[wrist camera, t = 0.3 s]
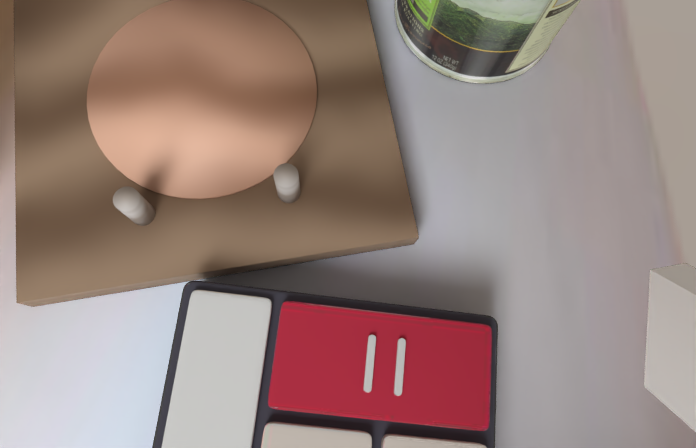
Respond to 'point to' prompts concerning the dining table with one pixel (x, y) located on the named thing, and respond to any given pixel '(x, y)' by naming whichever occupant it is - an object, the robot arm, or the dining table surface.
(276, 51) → the pin board
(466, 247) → the dining table surface
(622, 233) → the dining table surface
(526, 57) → the coffee can
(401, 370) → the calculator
